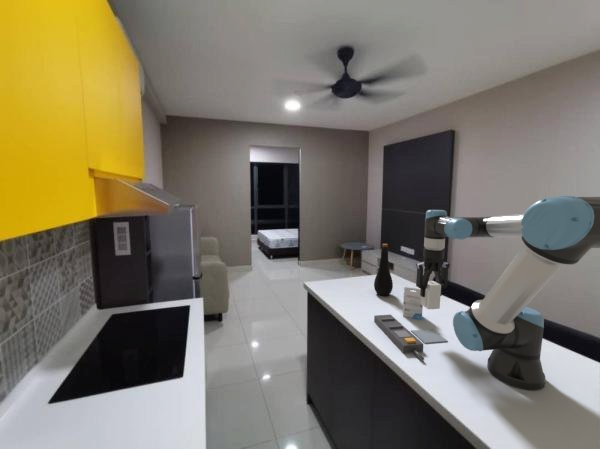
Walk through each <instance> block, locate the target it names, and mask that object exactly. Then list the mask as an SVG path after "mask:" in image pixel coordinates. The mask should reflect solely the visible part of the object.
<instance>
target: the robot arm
mask: <svg viewBox="0 0 600 449" xmlns="http://www.w3.org/2000/svg"><path fill="white" fill-rule="evenodd" d="M446 237H447V238H450V239H453V240H461V241H462V240H465V239H468V238H469V239H470V238H520V241H521V243H522V247H521V248H520V250H518V252H517V254H515V257H514V258H513V259H512V260H511V261H510V262H509V265H508V266H507V267H506V268H505V269H504V271H503V273H502V274H501V275H499V276H500V277H499V278H498V279H497V281H496V282H495V283H494V284H493V285H492V287H491V289H490V290H489V291H488V292H487V294H486V295H485V296H484V298H483V299H477V300H475V301H474V302H473V303H472V304H471V305H470V306H469V308H468V309H467V310H465V311H464V310H461V311H460V310H459V311H458V312H456V313H455V314H454V315H453V318H452V326H453V331H454V334H455V335H456V338H457V340H458V341H459V343H460V344H461V345H462V346H463V347H464V348H465V349H467V350H468V351H471V352H472V351H473V352H482V351H491V353H490V355H489V357H488V359H487V365H486V368H487V370H488V372H489V373H490V374H491V375H492V376H494V377H495V378H496V379H498V380H499V381H501V382H502V383H505V384H507V385H510V386H512V387H516V388H518V389H522V390H528V391H538V390H542V389H543V388H545V387H546V381H547V380H546V374H545V373H544V369H543V365H542V361H541V353H542V346H543V339H544V338H543V337H544V328H545V326H544V325H545V324H544V323H545V319H544V315H543V314H542V313H541V312H539V311H538V310H536V309H534V308H531V307H529V306H527V305H529V303H531V302H532V300H533V299H534V298H535V297H536V296H537V295H538V294H539V293H540V291H541V290H542V289H543V288H544V287H545V286H546V285H547V284H548V283H549V281H550V280H552V278H554V276H555V275H556V274H557V273H558V272H559V270H560V269H561V268H562V267H563V266H573V265H576V264H577V263H578V262H579V261H580V260H581V259H582V258H583V257H584V256H585V255H586V254H587V253H588V252H589V251H590V250H591V249H600V196H572V195H559V196H553V197H552V196H551V197H545V198H543V199H540V200H538V201H535V202H534V203H533V204H531V205H530V206H529V207H527V209H526V210H525V211H524V213H518V214H516V213H515V214H506V215H505V214H503V215H493V216H492V215H491V216H475V217H474V216H467V217H466V216H459V217H458V216H456V217H455V216H448V212H447V211H446V210H444V209H428V210H426V212H425V218H424V237H423V238H424V240H423V241H424V242H423V247H424V248H423V252H422V253H423V255H422V256H423V260H422V262H420V263H416V264H415V266H416V282H415V287H417V289H421V290H420V296H422V300H421V303H422V304H424V305H425V306H427V295H428V290H427V289H426V287H427V284H428V281H430V278H431V275H432V274H433V272H434V278H435V282H437V283H439V284H441V296H440V297H442V296H443V290H445V288H448V279H449V277H448V276H449V269H450V263H448V262H446V261H444V258H445V247H446V246H445V244H446Z"/></svg>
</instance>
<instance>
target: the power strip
mask: <svg viewBox="0 0 600 449" xmlns="http://www.w3.org/2000/svg"><path fill="white" fill-rule="evenodd" d="M373 318H374V321H373V322H374V323H375V324H376V325H377V327H378V328H379V329H381V331H382V333H384V334H385V335H386V336H387V337H388V338H389V339H390V340H391V341H392V344H394V345H395V346H396V347H397V348H398V349H399V351H401V353H403V354H410V353H411V354H412V353H413V354H415V356H417V358H418V359H420V361H422V362H423V361H425V358H424V356H422V354H421V352H422V353H423V352H424V342H422V341H421V340H420V339H419V338H418V337H417V336H416V335H415V334H413V333H412V332H411V330H409V329H407V328H406V327H405V326H404V325H403V324H402V323H401V322H400V321H399V320H397V319H396V318H395V317H394V316H393V315H392V314H380V315H379V314H377V315H374V317H373Z"/></svg>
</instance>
